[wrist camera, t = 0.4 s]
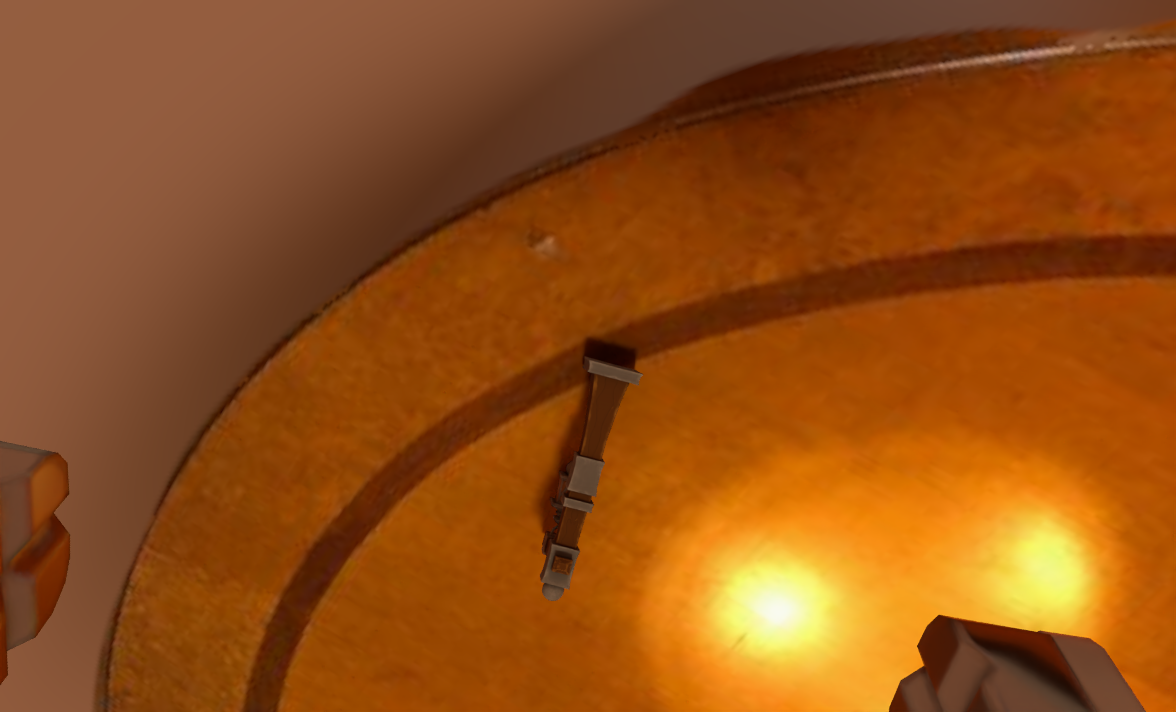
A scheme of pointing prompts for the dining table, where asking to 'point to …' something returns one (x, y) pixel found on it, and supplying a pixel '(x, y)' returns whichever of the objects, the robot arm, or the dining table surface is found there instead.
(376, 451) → the dining table surface
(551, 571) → the brown buckled strap
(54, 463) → the robot arm
